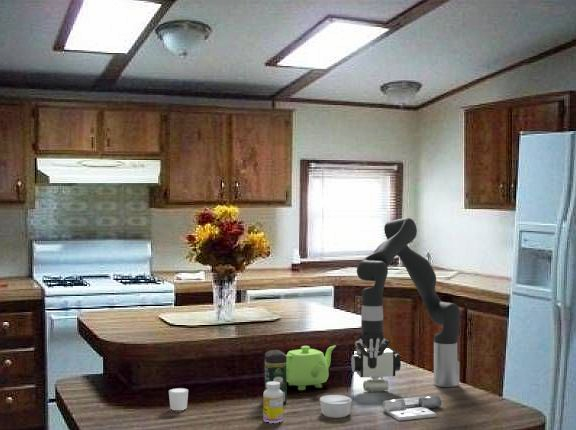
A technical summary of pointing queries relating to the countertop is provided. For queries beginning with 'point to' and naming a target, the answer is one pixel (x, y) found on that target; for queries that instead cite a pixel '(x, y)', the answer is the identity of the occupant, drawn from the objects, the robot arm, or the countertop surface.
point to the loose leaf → (405, 410)
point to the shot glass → (178, 398)
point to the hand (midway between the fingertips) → (372, 368)
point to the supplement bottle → (273, 403)
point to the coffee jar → (276, 370)
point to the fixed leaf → (422, 402)
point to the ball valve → (376, 369)
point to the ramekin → (335, 405)
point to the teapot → (308, 367)
